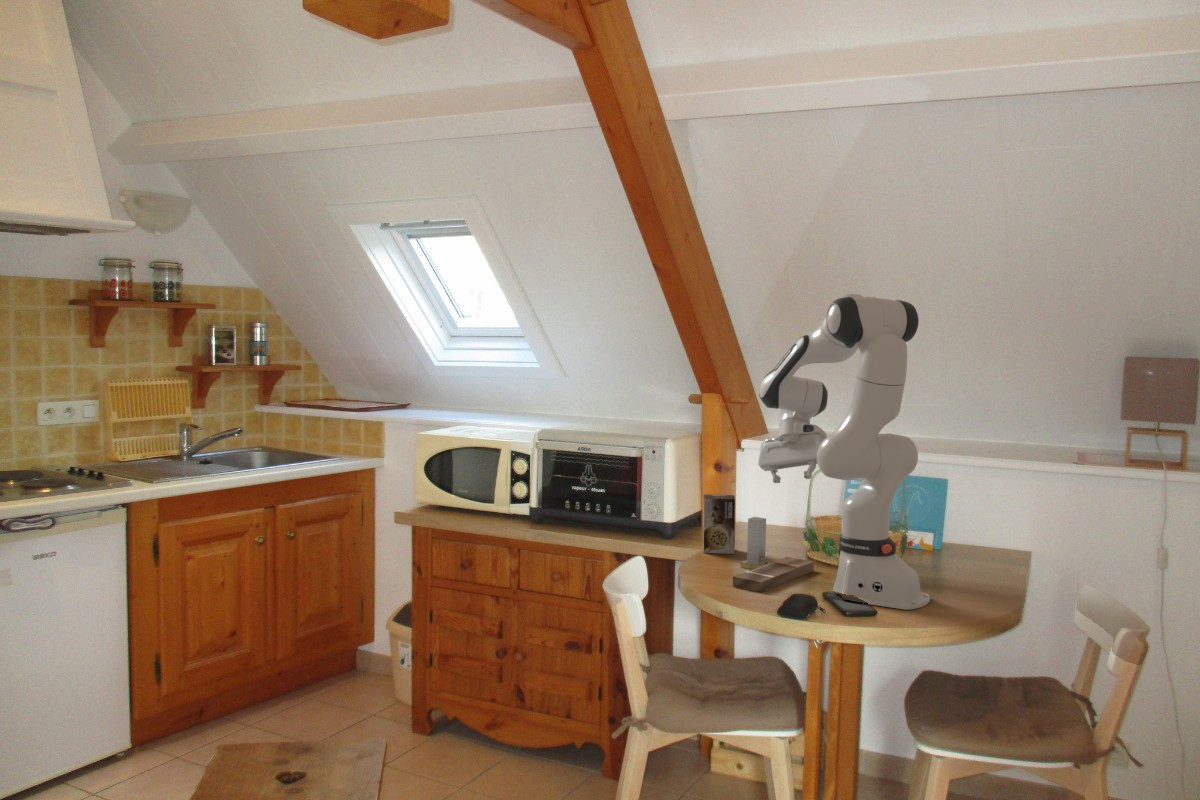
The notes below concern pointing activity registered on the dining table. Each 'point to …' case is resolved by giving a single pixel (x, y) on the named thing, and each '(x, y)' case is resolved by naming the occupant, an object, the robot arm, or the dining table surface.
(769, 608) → the dining table surface
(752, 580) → the walnut board
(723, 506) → the coffee box
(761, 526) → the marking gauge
